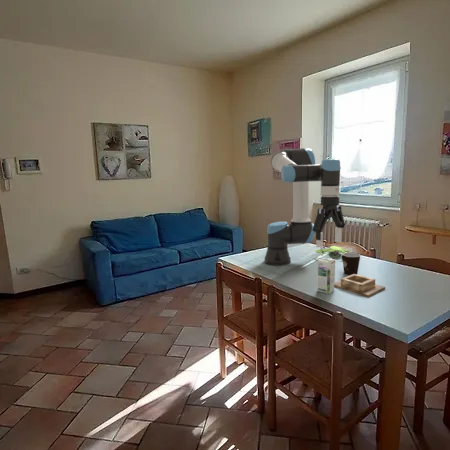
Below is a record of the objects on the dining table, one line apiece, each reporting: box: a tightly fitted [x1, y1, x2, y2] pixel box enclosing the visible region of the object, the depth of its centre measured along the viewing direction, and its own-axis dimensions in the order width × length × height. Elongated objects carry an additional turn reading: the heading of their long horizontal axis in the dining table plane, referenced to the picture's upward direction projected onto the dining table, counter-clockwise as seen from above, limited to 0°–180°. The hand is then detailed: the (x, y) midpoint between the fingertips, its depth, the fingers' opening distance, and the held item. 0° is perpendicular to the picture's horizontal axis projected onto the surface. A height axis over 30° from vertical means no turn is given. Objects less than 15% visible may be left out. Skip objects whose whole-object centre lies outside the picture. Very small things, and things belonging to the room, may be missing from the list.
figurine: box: [315, 245, 350, 256], centre depth 203 cm, size 18×27×6 cm
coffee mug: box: [341, 252, 361, 276], centre depth 169 cm, size 12×9×10 cm
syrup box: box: [316, 257, 336, 295], centre depth 145 cm, size 6×6×14 cm
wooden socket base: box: [334, 273, 386, 298], centre depth 149 cm, size 18×14×4 cm
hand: (328, 244), depth 143 cm, fingers open, 13 cm apart
